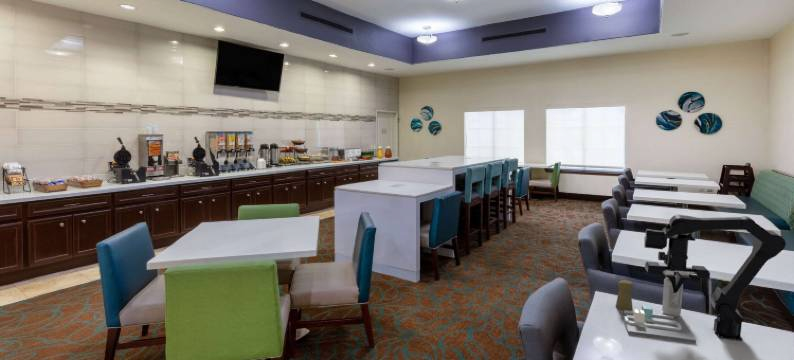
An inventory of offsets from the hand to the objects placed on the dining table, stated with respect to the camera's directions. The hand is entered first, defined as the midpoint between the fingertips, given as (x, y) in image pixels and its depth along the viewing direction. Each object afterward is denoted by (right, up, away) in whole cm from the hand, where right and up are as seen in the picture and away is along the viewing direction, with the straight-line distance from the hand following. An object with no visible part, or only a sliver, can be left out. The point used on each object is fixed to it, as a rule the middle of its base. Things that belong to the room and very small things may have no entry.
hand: (674, 292), depth 150 cm
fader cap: (-12, -11, +2) cm, 16 cm away
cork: (-9, -11, +17) cm, 22 cm away
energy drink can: (+6, -11, +10) cm, 16 cm away
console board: (-7, -13, 0) cm, 14 cm away
